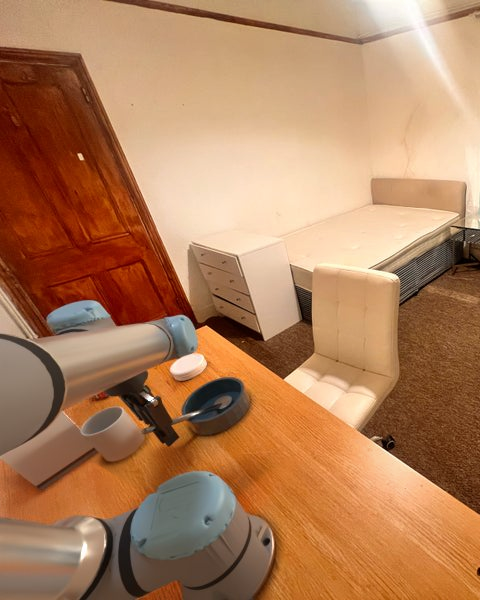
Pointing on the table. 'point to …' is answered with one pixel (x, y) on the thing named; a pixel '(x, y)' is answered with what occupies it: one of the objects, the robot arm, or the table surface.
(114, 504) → the table surface
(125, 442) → the mug
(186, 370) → the white round lid
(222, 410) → the spoon
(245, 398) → the bowl
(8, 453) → the white upright box
